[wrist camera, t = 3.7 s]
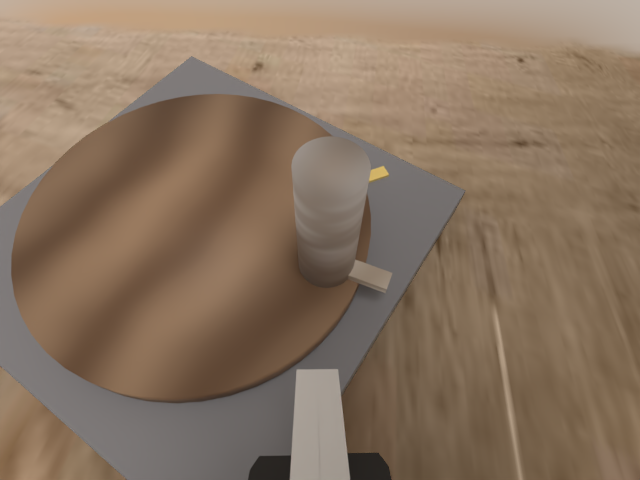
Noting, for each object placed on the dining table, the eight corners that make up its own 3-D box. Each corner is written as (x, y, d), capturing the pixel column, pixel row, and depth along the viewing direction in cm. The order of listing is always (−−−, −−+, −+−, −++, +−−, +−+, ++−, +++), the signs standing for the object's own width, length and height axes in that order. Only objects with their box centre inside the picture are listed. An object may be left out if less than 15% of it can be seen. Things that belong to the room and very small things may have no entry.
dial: (-54, 313, 23) (-261, 217, 15) (154, 81, 32) (99, -58, 24) (315, 489, 19) (315, 490, 11) (430, 166, 28) (477, 36, 20)
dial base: (197, 76, 36) (190, 54, 34) (456, 207, 30) (466, 188, 28) (-68, 294, 26) (-98, 279, 24) (237, 564, 20) (229, 573, 18)
